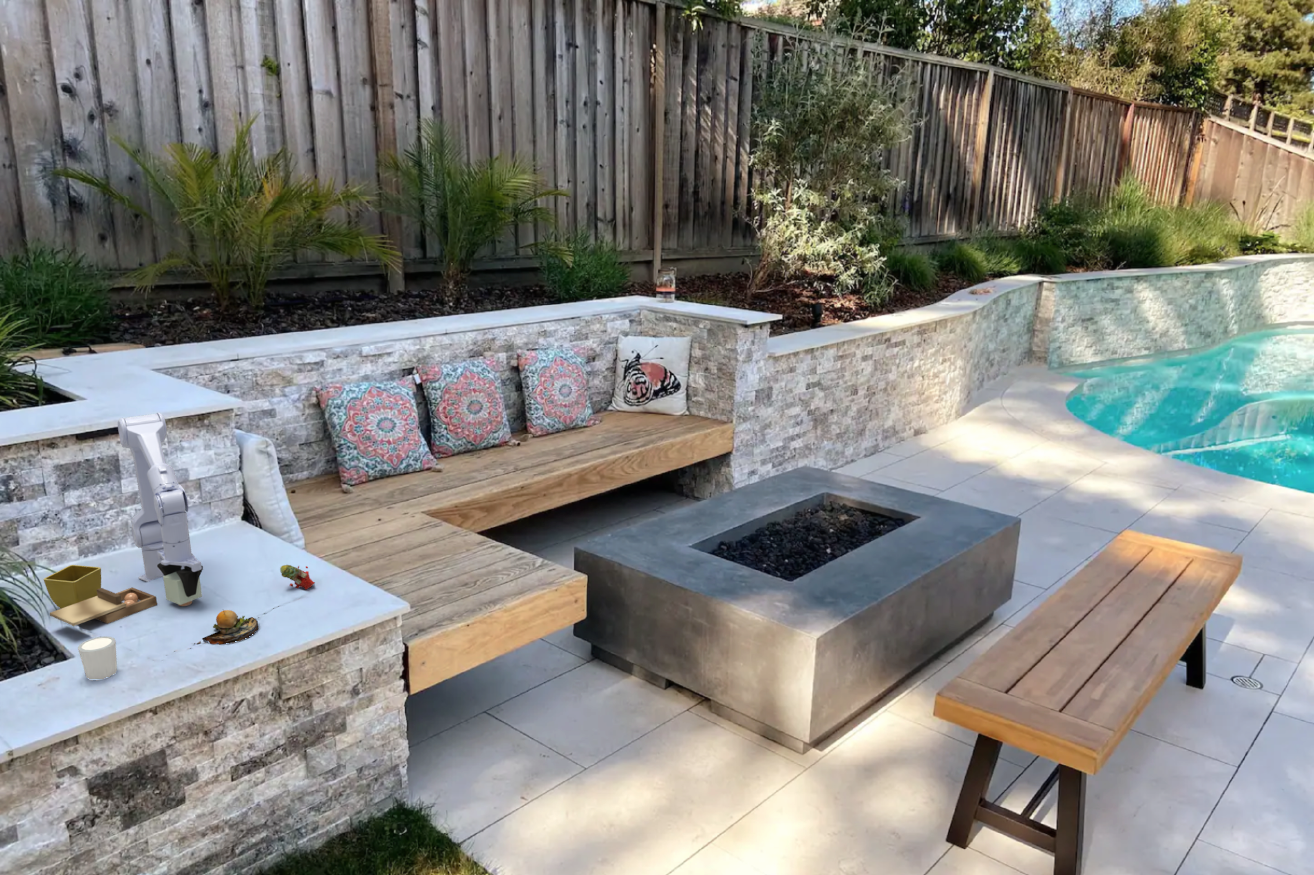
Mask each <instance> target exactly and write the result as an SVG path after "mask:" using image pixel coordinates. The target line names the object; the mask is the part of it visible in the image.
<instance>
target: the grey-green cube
mask: <svg viewBox="0 0 1314 875" xmlns="http://www.w3.org/2000/svg"><path fill="white" fill-rule="evenodd" d="M200 578H201V576H199V580H198V584H197V591H196V594H195V595H192V596H190V597H187V596H186V594H185V591H184V587H183V583H182V581H181V579H180V577H179V576H178V574H177V573H176V572H174V573H171V574H168V575H166V576H163V577H162V579H163V584H164V592H165V593H164V594H165V597H166V601H169V602H171V603H174V604H177V605H178V604H179V605H182V604H184V603H187V602H189V601H192V602H193V601H194V600H197V599H199V598H202V597H203V594H202V584H201V579H200ZM179 605H178V606H179Z"/></svg>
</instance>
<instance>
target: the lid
mask: <svg viewBox="0 0 1314 875" xmlns="http://www.w3.org/2000/svg"><path fill="white" fill-rule="evenodd" d="M116 593H117V592H113V591H110V590H108V589H105V588H104V587H101V588H100V589H97V596H95V597H93V598H90V599H87V600H84V601H81V602H79V603H76V604H73V605H70V606H67V607H65V608H62V609H60V608H59V609H55V610H54V611H50V612H49V616H50V617H52V618H54V619H56V620H58V621H60V622H63V623H65V624H67V625H71V626H73V627H75V626H78V625H80V624H83V623H86V622H88V621H91V620H94V619H95V618H97V617H99V616H102V615H105V614H107V613H110V612H113V611H115V610H118V609H121V608H123V607H126V603H124V601H121V595H118V594H116Z"/></svg>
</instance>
